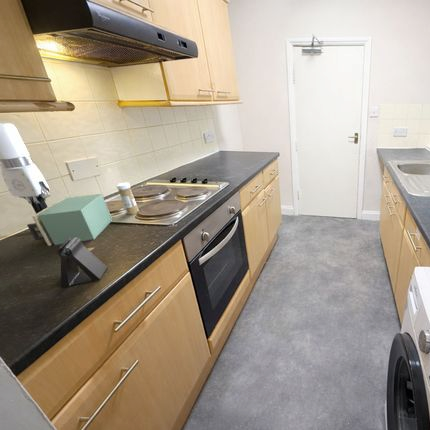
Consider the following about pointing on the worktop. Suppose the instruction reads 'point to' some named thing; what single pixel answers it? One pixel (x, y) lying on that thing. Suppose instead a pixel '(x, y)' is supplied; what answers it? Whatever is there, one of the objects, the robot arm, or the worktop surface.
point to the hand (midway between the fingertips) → (43, 212)
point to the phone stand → (78, 264)
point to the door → (41, 227)
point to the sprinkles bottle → (127, 198)
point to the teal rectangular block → (76, 218)
